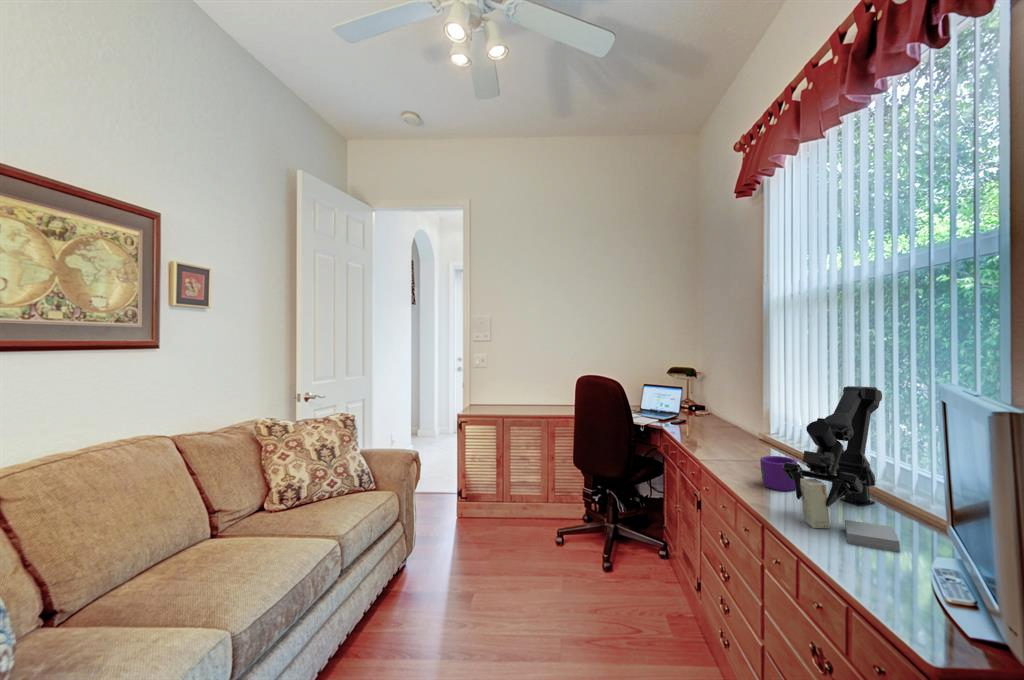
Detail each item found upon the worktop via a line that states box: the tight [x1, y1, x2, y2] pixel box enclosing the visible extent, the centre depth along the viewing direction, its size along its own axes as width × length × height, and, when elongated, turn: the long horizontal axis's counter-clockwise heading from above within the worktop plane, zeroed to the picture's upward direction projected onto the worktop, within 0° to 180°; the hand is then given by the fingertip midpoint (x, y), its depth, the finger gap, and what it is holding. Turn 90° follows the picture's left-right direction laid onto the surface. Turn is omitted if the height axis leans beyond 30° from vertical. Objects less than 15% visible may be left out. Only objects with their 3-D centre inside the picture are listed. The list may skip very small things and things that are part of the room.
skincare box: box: [800, 478, 831, 529], centre depth 122 cm, size 6×4×12 cm
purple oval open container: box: [760, 455, 798, 492], centre depth 157 cm, size 17×11×10 cm, turn 152°
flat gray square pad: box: [844, 519, 901, 553], centre depth 112 cm, size 10×10×3 cm
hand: (812, 502), depth 122 cm, fingers closed on skincare box, 7 cm apart
